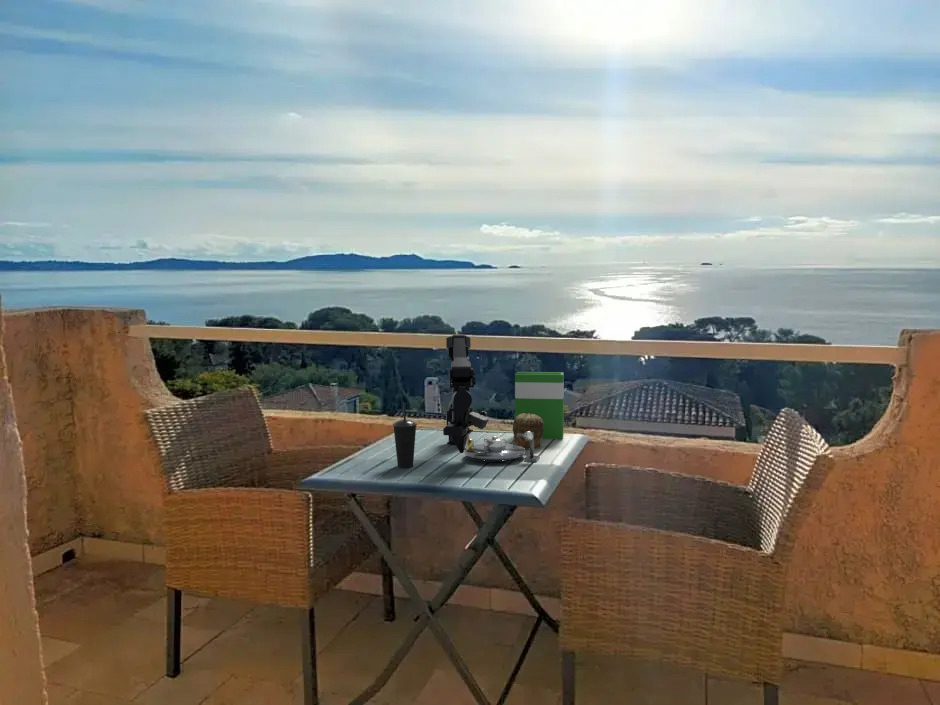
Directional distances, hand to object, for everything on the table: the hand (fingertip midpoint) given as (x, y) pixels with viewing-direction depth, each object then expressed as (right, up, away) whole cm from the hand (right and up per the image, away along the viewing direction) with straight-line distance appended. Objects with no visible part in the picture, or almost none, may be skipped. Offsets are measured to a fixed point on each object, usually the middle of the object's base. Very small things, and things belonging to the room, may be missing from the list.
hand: (461, 452), depth 235 cm
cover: (+11, 0, +8) cm, 13 cm away
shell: (+23, -2, +24) cm, 34 cm away
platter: (+11, -1, +8) cm, 14 cm away
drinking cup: (-18, -4, -3) cm, 18 cm away
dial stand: (+21, -3, +5) cm, 22 cm away
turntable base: (+11, -3, +8) cm, 14 cm away
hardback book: (+29, 0, +42) cm, 51 cm away
